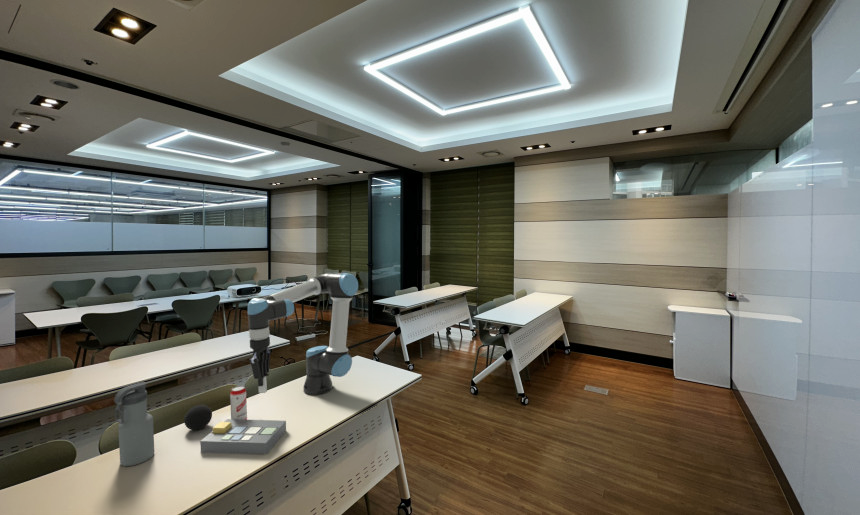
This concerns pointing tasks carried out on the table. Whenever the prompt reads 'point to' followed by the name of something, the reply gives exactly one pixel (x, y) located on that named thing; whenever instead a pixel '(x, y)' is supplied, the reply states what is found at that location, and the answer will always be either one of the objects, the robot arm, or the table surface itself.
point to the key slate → (237, 430)
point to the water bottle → (134, 425)
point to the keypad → (244, 438)
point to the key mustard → (222, 427)
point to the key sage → (268, 431)
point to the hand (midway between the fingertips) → (262, 392)
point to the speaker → (198, 417)
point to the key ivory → (253, 430)
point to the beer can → (238, 403)
